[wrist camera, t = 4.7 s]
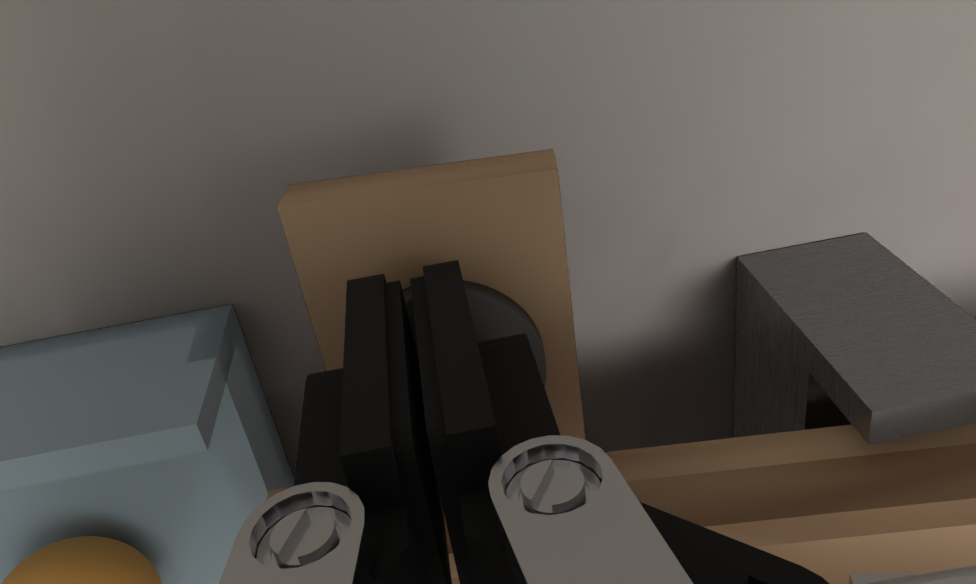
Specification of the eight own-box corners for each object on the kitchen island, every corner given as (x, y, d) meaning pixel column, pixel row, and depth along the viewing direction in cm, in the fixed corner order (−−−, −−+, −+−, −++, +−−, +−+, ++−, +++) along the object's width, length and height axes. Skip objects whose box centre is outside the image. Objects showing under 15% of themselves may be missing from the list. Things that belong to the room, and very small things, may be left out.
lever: (183, 174, 13) (81, 296, 10) (1782, -48, 12) (2313, 7, 8) (359, 667, 20) (334, 841, 16) (1394, 566, 18) (1602, 736, 15)
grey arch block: (737, 257, 18) (872, 412, 13) (866, 232, 18) (1048, 377, 13) (731, 545, 23) (829, 738, 18) (834, 524, 23) (959, 710, 18)
